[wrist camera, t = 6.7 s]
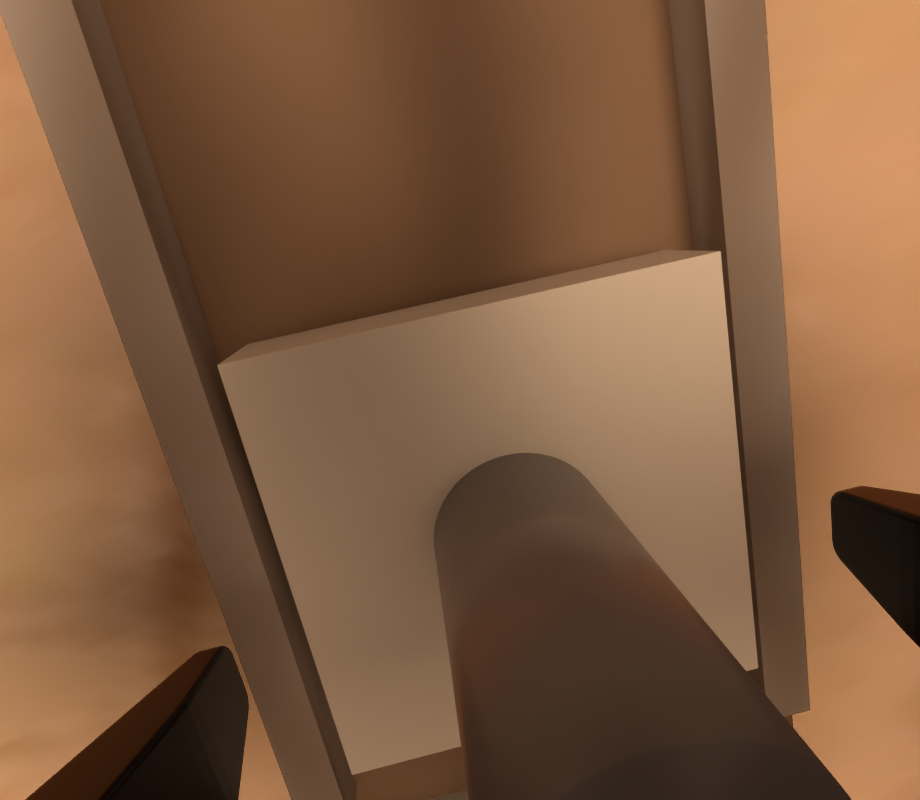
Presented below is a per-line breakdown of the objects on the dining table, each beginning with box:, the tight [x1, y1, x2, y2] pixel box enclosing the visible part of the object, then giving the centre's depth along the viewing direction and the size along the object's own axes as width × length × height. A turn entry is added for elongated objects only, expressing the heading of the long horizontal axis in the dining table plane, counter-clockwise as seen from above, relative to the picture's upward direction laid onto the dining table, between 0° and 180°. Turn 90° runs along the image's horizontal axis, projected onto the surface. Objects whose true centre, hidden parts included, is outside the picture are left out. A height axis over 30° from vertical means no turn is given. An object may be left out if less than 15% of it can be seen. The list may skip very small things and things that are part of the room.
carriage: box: [217, 250, 851, 800], centre depth 8 cm, size 8×8×8 cm
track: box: [0, 0, 810, 800], centre depth 13 cm, size 12×27×3 cm, turn 13°
